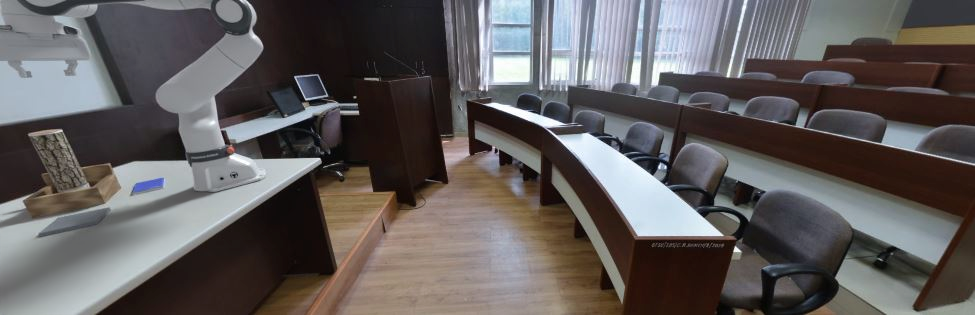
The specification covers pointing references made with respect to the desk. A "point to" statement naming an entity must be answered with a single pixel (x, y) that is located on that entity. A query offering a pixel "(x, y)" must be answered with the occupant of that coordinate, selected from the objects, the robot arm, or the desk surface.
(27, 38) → the robot arm
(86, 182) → the wooden log
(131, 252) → the desk surface
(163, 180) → the hard drive
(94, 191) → the frame
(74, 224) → the slate pad
